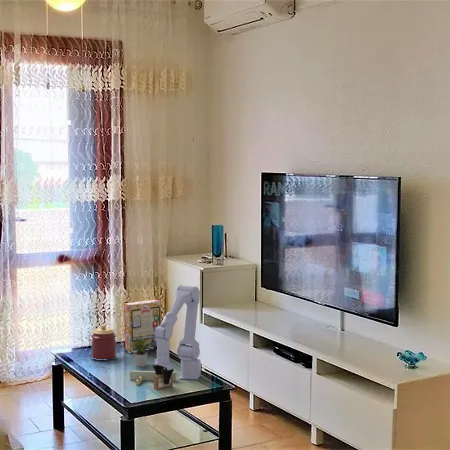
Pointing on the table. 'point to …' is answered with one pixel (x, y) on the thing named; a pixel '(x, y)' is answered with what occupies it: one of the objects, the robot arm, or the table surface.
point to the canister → (103, 343)
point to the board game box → (141, 322)
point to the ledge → (145, 376)
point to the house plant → (140, 351)
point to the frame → (162, 382)
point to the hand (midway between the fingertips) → (163, 382)
